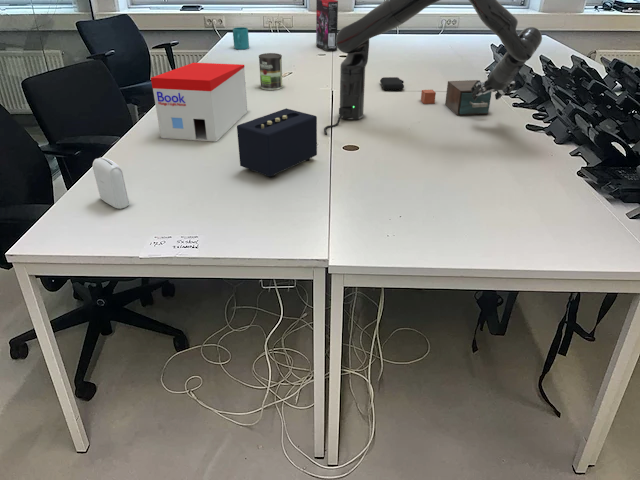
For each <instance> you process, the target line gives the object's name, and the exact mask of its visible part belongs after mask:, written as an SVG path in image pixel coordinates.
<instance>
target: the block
mask: <svg viewBox="0 0 640 480" xmlns="http://www.w3.org/2000/svg"><path fill="white" fill-rule="evenodd" d="M436 95H437V92H436V91H435V90H434V89H421V95H420V102H421V103H422V104H423V105H430V104H431V105H432V104H435V102H436Z"/></svg>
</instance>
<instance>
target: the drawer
mask: <svg viewBox="0 0 640 480" xmlns="http://www.w3.org/2000/svg"><path fill="white" fill-rule="evenodd" d="M491 98H492V93H491V92H488V93H486V94H481V95H479V97H478V98H477V100H473V98H472V92H469V93H462V95H461V103H460V110H459V113H460V114H472V113H488V114H489V112H488V111H490V104H491Z"/></svg>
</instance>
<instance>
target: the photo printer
mask: <svg viewBox="0 0 640 480" xmlns="http://www.w3.org/2000/svg"><path fill="white" fill-rule="evenodd" d="M92 170H93V174H94V179H95V182H96V186H97V191H98V194H99V197H100V199H101V200H102V201H103V202H104V203H106V204H108V205H110V206H111V207H113V208H115V209H119V210H120V209H124V208H127V207H128V206H129V205H130V200H129V195H128V191H127V186H126V182H125V178H124V173H123V170H122V168H121V167H120V165H119V164H118V163H116V162H115V161H113V160H111V159H110V158H108V157H98V158H95V159H94V160H93V162H92Z"/></svg>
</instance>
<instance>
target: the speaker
mask: <svg viewBox="0 0 640 480" xmlns="http://www.w3.org/2000/svg"><path fill="white" fill-rule="evenodd" d="M236 133H237V134H236V135H237V143H238V144H237V145H238V155H239V156H238V157H239V166H240V167H242V168H245V169H248V171H252V172H256V173H258V174H262V175H264V176H266V177H268V178H274V177H275V175H277V174H279V173H281V172H284V171H285V170H288V169H290V168H292V167H294V166H296V165H299V164H301V163H303V162H309V161H310V160H311V159H312V158H314V157H316V156H317V155H318V117H317V116H316V115H314V114H310V113H306V112H302V111H298V110H295V109H291V108H283V109H281V110H278V111H275V112H272V113H268V114H265V115H262V116H260V117H257V118H254V119H251V120H249V121H246V122H243V123H240V124H237V125H236Z"/></svg>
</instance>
